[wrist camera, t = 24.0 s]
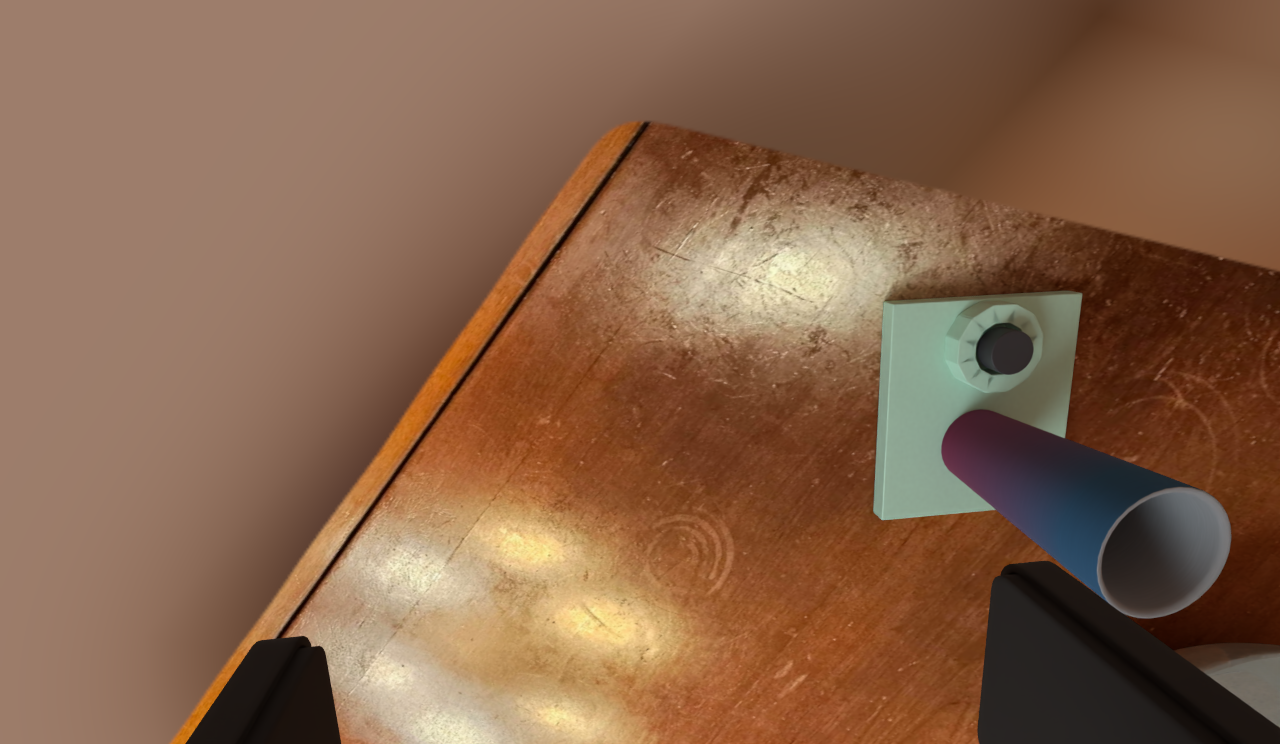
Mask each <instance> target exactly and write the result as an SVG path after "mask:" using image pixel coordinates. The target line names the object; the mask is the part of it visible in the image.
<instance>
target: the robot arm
mask: <svg viewBox="0 0 1280 744" xmlns="http://www.w3.org/2000/svg"><path fill="white" fill-rule="evenodd" d="M978 739H979V744H1280V728H1279V727H1278V726H1277V725H1275V724H1274V723H1273V722H1271V721H1270V720H1268V719H1267V718H1266V717H1264V716H1263V715H1262V714H1260V713H1259V712H1257V711H1256V710H1255V709H1253V708H1252V707H1251V706H1249V705H1248V704H1246V703H1245V702H1244V701H1242V700H1241V699H1240V698H1238V697H1237V696H1235V695H1234V694H1233V693H1231V692H1230V691H1229V690H1227V689H1226V688H1224V687H1223V686H1222V685H1220V684H1219V683H1218V682H1216V681H1215V680H1214V679H1212V678H1211V677H1209V676H1208V675H1207V674H1205V673H1204V672H1203V671H1201V670H1200V669H1198V668H1197V667H1196V666H1194V665H1193V664H1192V663H1190V662H1189V661H1187V660H1186V659H1185V658H1183V657H1182V656H1181V655H1179V654H1178V653H1176V652H1175V651H1174V650H1172V649H1171V648H1170V647H1168V646H1167V645H1165V644H1164V643H1163V642H1161V641H1160V640H1159V639H1157V638H1156V637H1154V636H1153V635H1152V634H1150V633H1149V632H1148V631H1146V630H1145V629H1143V628H1142V627H1141V626H1139V625H1138V624H1137V623H1135V622H1134V621H1132V620H1131V619H1130V618H1128V617H1127V616H1126V615H1124V614H1123V613H1121V612H1120V611H1119V610H1117V609H1116V608H1115V607H1113V606H1112V605H1110V604H1109V603H1108V602H1106V601H1105V600H1104V599H1102V598H1101V597H1099V596H1098V595H1097V594H1095V593H1094V592H1093V591H1091V590H1090V589H1088V588H1087V587H1086V586H1084V585H1083V584H1082V583H1080V582H1079V581H1078V580H1076V579H1075V578H1073V577H1072V576H1071V575H1069V574H1068V573H1067V572H1065V571H1064V570H1062V569H1061V568H1060V567H1058V566H1057V565H1055V564H1053V563H1052V562H1050V561H1037V562H1028V563H1018V564H1009V565H1007V566H1005V567H1004V569H1003V570H1002V572H1001V575H1000V576H998V577H996V578H995V579H994V580H993V583H992V588H991V598H990V608H989V618H988V629H987V639H986V649H985V659H984V669H983V679H982V690H981V700H980V710H979V720H978ZM186 744H341V740H340V734H339V728H338V723H337V717H336V711H335V705H334V700H333V694H332V688H331V683H330V677H329V671H328V665H327V660H326V655H325V651H324V649H323V648H322V647H321V646H315V647H311V643H310V641H309V640H308V638H307V637H305V636H299V637H290V638H280V639H270V640H261V641H258V642H256V643H255V644H254V645H253V646H252V647H251V649H250V650H249V652H248V653H247V655H246V656H245V658H244V659H243V661H242V662H241V664H240V665H239V666H238V668H237V669H236V671H235V672H234V674H233V675H232V677H231V678H230V680H229V681H228V682H227V684H226V685H225V687H224V688H223V690H222V691H221V693H220V694H219V696H218V697H217V699H216V700H215V701H214V703H213V704H212V706H211V707H210V709H209V710H208V712H207V713H206V715H205V716H204V717H203V719H202V720H201V722H200V723H199V725H198V726H197V728H196V729H195V731H194V732H193V734H192V735H191V736H190V738H189V739H188V741H187V742H186Z"/></svg>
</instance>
